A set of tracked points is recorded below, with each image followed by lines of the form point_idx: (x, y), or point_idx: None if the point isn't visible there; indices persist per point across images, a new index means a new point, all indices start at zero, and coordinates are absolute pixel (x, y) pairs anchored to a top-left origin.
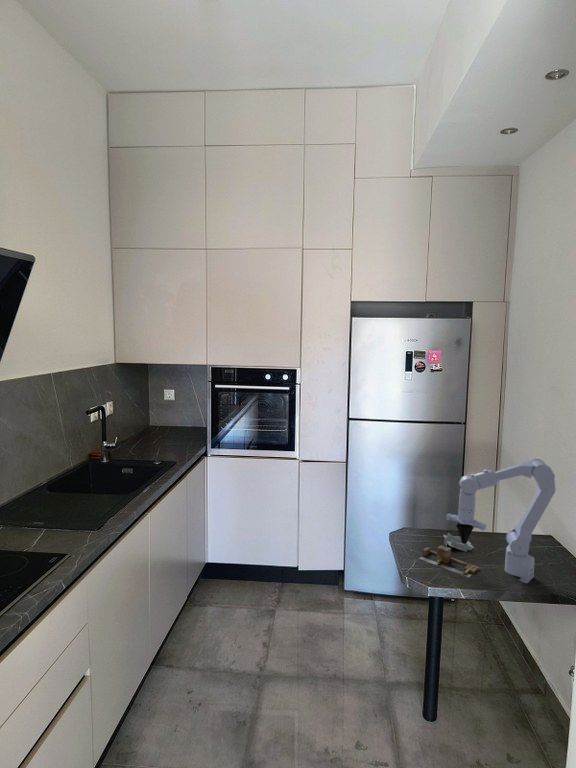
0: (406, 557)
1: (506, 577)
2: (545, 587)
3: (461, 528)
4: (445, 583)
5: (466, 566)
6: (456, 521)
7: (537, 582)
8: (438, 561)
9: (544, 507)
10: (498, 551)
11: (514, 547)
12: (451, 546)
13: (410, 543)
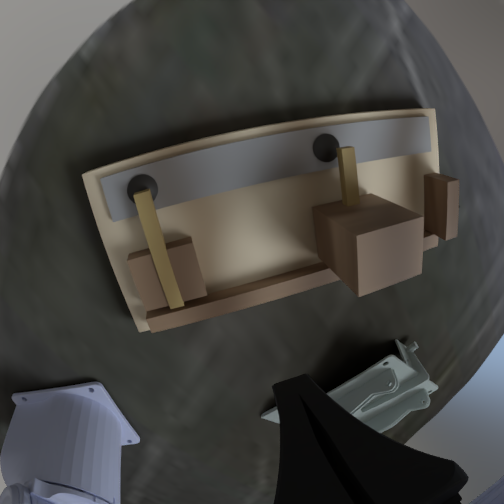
0: (461, 117)
1: (72, 380)
2: None
3: (384, 500)
4: (168, 21)
5: (197, 272)
6: (480, 499)
7: None
8: (342, 148)
9: None
10: (253, 476)
11: None
12: (382, 359)
13: (493, 249)
